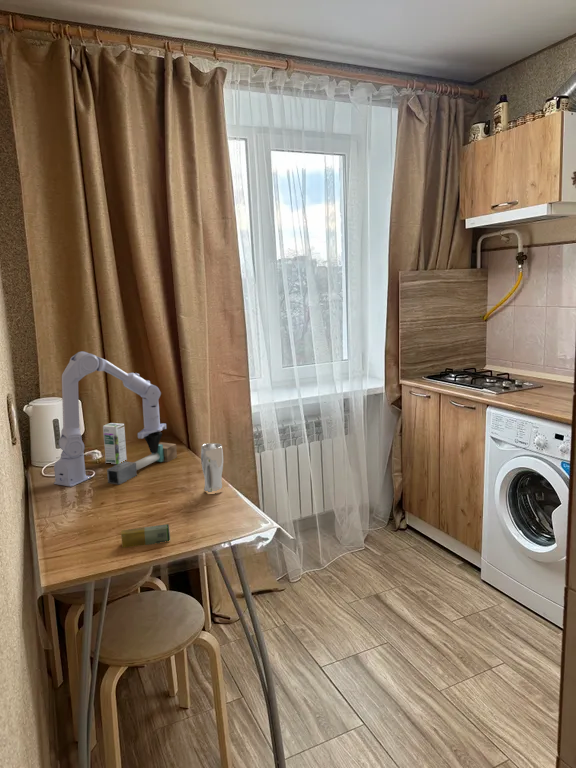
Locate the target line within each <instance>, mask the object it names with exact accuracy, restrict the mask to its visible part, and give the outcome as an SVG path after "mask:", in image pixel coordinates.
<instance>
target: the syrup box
mask: <svg viewBox="0 0 576 768" xmlns="http://www.w3.org/2000/svg"><path fill="white" fill-rule="evenodd" d="M102 430H103V431H102V433H103V442H104V443H103V444H104V454H105V455H104V458H105V464H106V463H111V465H117V464H120V463H121V462H123V461H125V460H126V461H127V460H128V457H127V446H126V432H125V423H116V422H110V423H107V424H105V425H103V426H102Z"/></svg>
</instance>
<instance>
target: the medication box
mask: <svg viewBox="0 0 576 768" xmlns="http://www.w3.org/2000/svg"><path fill="white" fill-rule="evenodd" d="M170 532H171V531H170V525H169V523H167V524H160V525H152V526H151V525H150V526H145V527H136V528H128V529H121V532H120V535H121V536H120V537H121V546H122V547H121V548H123V549H124V548H130V547H139V546H147V545H148V546H149V545H155V543H157V544H161V543H160V542H165V541H169V540H170V541H171V533H170ZM165 543H166V542H165Z"/></svg>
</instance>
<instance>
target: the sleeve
mask: <svg viewBox="0 0 576 768" xmlns="http://www.w3.org/2000/svg"><path fill="white" fill-rule="evenodd" d="M134 462H135V461H127V460H126V461H124V462H122V463H120V464H114V465H113V466H111V467H109V468H107V469H106V473H107V475H106V476H107V484H112V485H119V486H121V485H122V484H124V483H126V482H128V481H130V480H132V479H134V478H135V476H136V477H138V474H137V472H138V470H137V471H136V463H134ZM133 477H134V478H133ZM131 478H132V479H131ZM129 479H130V480H129ZM127 480H128V481H127Z"/></svg>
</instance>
